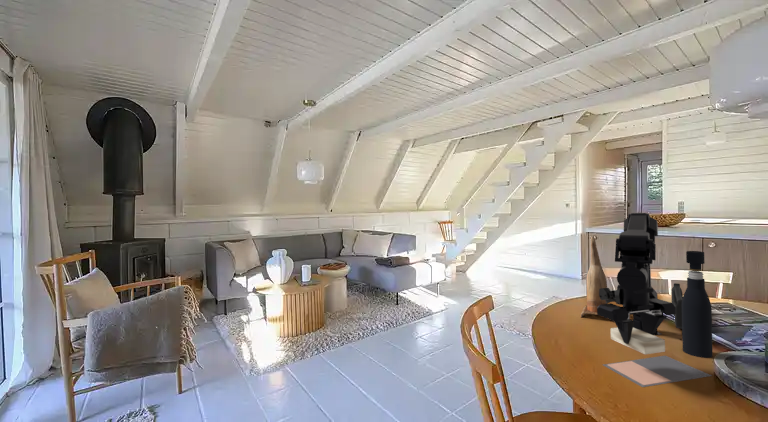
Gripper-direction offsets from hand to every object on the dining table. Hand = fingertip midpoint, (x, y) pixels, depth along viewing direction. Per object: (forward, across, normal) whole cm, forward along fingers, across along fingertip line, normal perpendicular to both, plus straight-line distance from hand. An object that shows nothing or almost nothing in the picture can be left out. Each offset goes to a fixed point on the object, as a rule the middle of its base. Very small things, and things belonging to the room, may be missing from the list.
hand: (636, 341), depth 90 cm
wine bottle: (+9, -26, -5) cm, 28 cm away
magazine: (+9, -50, -30) cm, 59 cm away
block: (+1, 0, 0) cm, 1 cm away
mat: (+9, -5, 0) cm, 10 cm away
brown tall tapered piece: (+9, -26, -41) cm, 49 cm away
